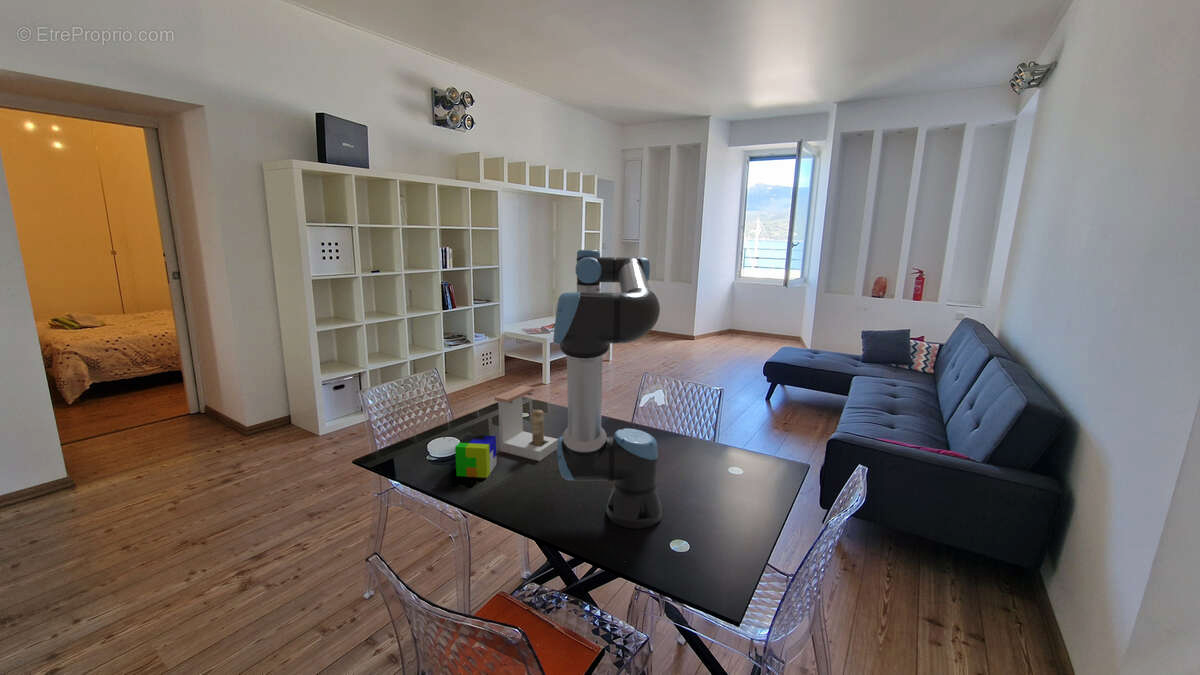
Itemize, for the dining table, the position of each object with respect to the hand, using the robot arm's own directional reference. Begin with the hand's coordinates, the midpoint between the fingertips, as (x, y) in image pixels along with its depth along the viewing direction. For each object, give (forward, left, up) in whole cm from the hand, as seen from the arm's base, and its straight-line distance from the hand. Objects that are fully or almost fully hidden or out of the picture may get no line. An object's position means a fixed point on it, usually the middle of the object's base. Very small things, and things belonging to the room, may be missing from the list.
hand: (587, 361), depth 163 cm
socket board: (-4, +22, -35) cm, 41 cm away
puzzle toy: (-25, +28, -35) cm, 51 cm away
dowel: (-4, +18, -35) cm, 39 cm away
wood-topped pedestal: (-4, +27, -31) cm, 42 cm away
